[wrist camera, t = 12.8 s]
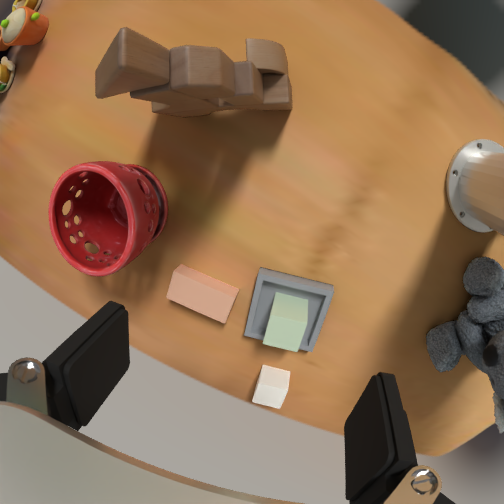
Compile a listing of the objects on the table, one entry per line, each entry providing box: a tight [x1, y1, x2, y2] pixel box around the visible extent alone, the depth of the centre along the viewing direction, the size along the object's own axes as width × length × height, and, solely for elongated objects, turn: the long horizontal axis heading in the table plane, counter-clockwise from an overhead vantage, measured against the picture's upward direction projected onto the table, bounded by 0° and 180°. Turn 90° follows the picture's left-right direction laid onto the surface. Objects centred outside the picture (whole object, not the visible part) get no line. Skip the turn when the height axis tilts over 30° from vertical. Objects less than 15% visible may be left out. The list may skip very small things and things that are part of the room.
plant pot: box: [49, 161, 168, 277], centre depth 37 cm, size 13×13×12 cm
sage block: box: [263, 292, 308, 352], centre depth 40 cm, size 4×4×6 cm
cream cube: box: [252, 365, 290, 409], centre depth 47 cm, size 4×4×4 cm
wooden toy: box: [95, 27, 292, 117], centre depth 24 cm, size 16×7×25 cm, turn 92°
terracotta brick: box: [166, 264, 239, 324], centre depth 44 cm, size 9×4×3 cm, turn 69°
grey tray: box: [244, 267, 334, 352], centre depth 43 cm, size 10×10×2 cm
